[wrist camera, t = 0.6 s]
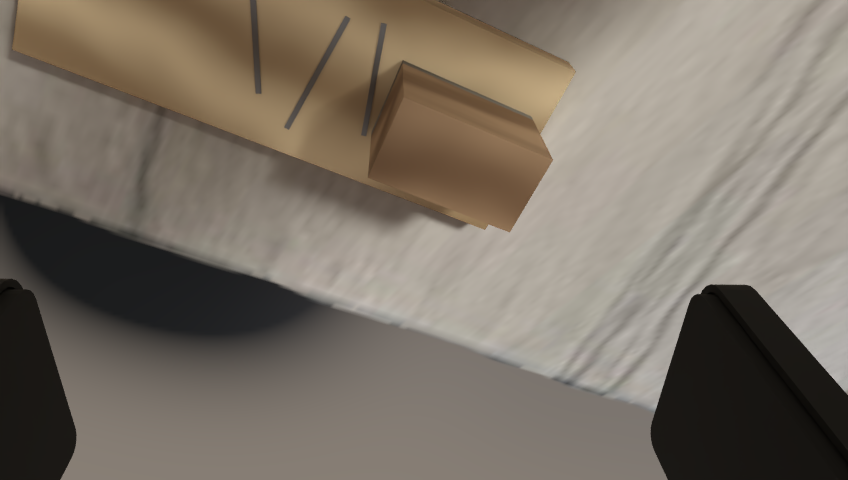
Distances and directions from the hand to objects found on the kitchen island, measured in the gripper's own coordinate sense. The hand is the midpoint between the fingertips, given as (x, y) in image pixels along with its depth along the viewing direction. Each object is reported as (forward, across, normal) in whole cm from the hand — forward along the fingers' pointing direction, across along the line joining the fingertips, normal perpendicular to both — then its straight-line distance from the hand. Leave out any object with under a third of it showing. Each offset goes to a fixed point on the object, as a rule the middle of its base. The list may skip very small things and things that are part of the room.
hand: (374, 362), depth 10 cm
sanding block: (+28, -4, +6) cm, 29 cm away
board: (+30, +4, +3) cm, 30 cm away
